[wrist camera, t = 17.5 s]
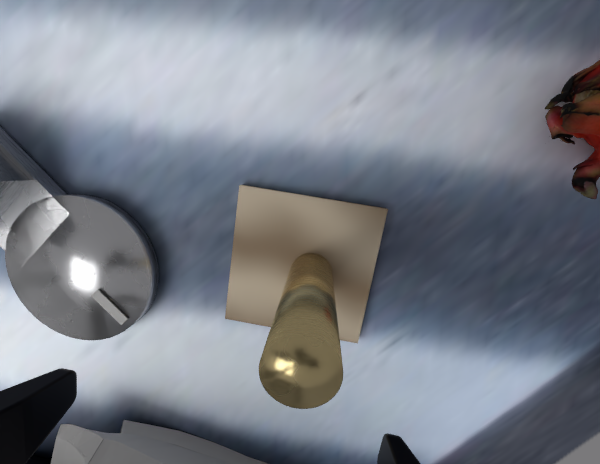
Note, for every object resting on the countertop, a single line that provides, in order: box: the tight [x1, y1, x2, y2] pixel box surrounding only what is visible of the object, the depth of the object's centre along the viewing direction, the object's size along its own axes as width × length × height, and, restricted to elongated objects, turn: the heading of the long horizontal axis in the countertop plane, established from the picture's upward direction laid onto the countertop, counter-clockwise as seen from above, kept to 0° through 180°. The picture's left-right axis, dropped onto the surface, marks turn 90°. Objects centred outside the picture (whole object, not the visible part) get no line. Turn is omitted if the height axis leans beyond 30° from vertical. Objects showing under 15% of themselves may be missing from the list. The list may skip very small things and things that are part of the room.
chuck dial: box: [0, 127, 159, 340], centre depth 19 cm, size 18×11×4 cm, turn 42°
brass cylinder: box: [259, 253, 343, 409], centre depth 15 cm, size 3×3×10 cm
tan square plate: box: [225, 185, 388, 343], centre depth 20 cm, size 10×10×1 cm
